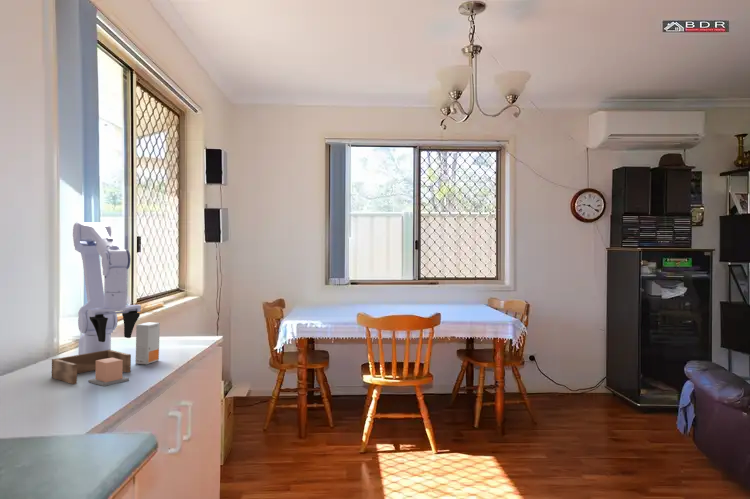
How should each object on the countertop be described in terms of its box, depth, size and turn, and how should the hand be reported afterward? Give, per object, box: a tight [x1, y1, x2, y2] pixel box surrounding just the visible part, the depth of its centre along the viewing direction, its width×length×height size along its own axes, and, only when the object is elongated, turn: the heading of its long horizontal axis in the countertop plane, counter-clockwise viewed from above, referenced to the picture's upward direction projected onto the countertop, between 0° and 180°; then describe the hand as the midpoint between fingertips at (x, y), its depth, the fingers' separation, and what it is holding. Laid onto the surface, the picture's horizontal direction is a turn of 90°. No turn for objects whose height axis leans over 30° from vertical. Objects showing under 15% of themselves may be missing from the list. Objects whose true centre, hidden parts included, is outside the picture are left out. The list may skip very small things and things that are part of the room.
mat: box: [88, 376, 130, 387], centre depth 138 cm, size 7×7×1 cm
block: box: [94, 358, 123, 382], centre depth 138 cm, size 5×4×5 cm
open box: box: [51, 349, 132, 385], centre depth 144 cm, size 11×16×5 cm
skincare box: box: [135, 321, 161, 365], centre depth 160 cm, size 6×4×12 cm
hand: (114, 339), depth 147 cm, fingers open, 7 cm apart
